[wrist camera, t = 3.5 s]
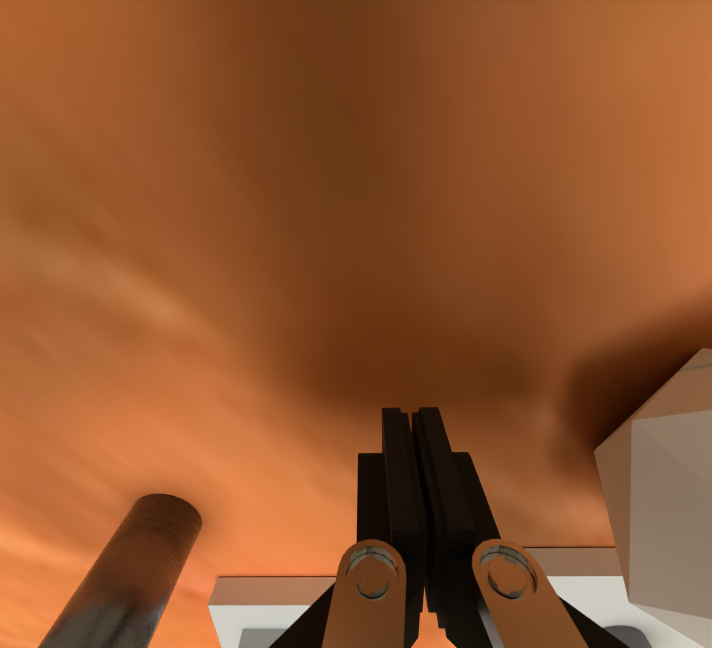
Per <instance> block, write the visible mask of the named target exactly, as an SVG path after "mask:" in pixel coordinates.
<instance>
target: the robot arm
mask: <svg viewBox="0 0 712 648" xmlns="http://www.w3.org/2000/svg"><path fill="white" fill-rule="evenodd" d="M424 587H425V594H426V600H427V607H428V611H429V612H436V614H437V620H438V626H439V628H445V631H446V637H447V638H448V639H449V640H450V641H451V642H452V643H453V644H454V645H455V646H456V647H457V648H630V647H629V646H627V645H626V644H624V643H623V642H622V641H620V640H619V639H618V638H616V637H615V636H613V635H612V634H611V633H609V632H608V631H606V630H605V629H604V628H602V627H601V626H600V625H598V624H597V623H595V622H594V621H593V620H591V619H590V618H588V617H587V616H586V615H584V614H583V613H582V612H580V611H579V610H577V609H576V608H575V607H573V606H572V605H570V604H569V603H568V602H566V601H565V600H564V599H562V598H561V597H559V596H558V595H557V594H556V592H555V590H554V588H553V587H552V585H551V583H550V582H549V580H548V578H547V577H546V575H545V573H544V572H543V570H542V568H541V567H540V565H539V564H538V562H537V561H536V560H535V559H534V557H533V556H532V555H531V554H530V553H529V552H527V551H526V550H525V549H524V548H523V547H521V546H519V545H517V544H515V543H513V542H511V541H507V540H503V539H501V537H500V534H499V531H498V529H497V526H496V523H495V521H494V518H493V515H492V513H491V510H490V507H489V504H488V502H487V499H486V496H485V494H484V491H483V488H482V486H481V483H480V480H479V478H478V475H477V472H476V469H475V467H474V464H473V461H472V459H471V456H470V454H469V453H468V452H452V450H451V447H450V444H449V441H448V437H447V434H446V431H445V428H444V425H443V421H442V418H441V415H440V412H439V409H438V407H420V408H419V412H413V413H412V431H411V430H410V424H409V418H408V413H401V410H400V408H382V453H358V494H357V543H355V544H354V545H353V546H351V547H350V548H348V550H347V551H346V552H345V554H344V555H343V556H342V559H341V561H340V564H339V567H338V572H337V577H336V581H335V582H334V583H333V584H332V585H331V586H330V587H329V588H328V589H327V590H326V591H325V592H324V593H323V594H322V595H321V596H320V597H319V598H318V599H317V600H316V601H315V602H314V603H313V604H312V605H311V606H310V607H309V608H308V609H307V610H306V611H305V612H304V613H303V614H302V615H301V616H300V617H299V618H298V619H297V620H296V621H295V622H294V623H293V624H292V625H291V626H290V627H289V628H288V629H287V630H286V631H285V632H284V633H283V634H282V635H281V636H280V637H279V638H278V639H277V640H276V641H275V642H274V643H273V644H272V645H271V646H270V647H269V648H411V647H412V645H413V644H414V643H415V641H416V640H417V638H418V634H419V619H420V612H422V609H423V595H424Z"/></svg>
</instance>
